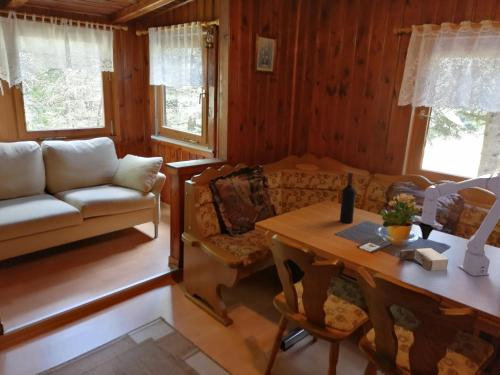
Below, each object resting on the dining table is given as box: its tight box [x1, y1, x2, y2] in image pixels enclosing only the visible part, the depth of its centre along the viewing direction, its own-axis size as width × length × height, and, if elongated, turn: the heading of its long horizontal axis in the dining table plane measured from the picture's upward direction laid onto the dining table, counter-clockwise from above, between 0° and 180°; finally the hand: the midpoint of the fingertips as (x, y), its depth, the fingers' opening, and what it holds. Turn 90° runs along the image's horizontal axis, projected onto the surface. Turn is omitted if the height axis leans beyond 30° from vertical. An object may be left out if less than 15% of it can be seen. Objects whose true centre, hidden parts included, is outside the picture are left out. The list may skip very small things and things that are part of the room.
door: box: [398, 248, 416, 261], centre depth 173 cm, size 8×1×5 cm, turn 103°
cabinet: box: [413, 247, 449, 271], centre depth 169 cm, size 12×10×5 cm
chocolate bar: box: [356, 237, 393, 254], centre depth 189 cm, size 9×1×18 cm
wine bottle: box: [339, 172, 356, 225], centre depth 219 cm, size 8×8×30 cm
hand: (425, 238), depth 174 cm, fingers closed
